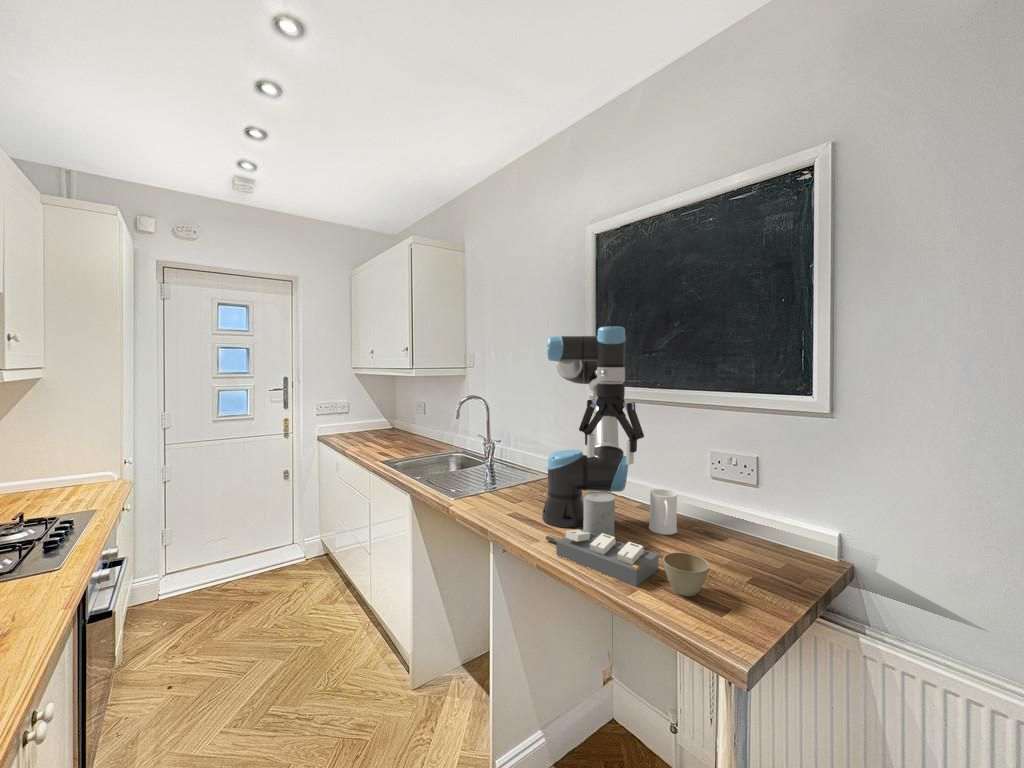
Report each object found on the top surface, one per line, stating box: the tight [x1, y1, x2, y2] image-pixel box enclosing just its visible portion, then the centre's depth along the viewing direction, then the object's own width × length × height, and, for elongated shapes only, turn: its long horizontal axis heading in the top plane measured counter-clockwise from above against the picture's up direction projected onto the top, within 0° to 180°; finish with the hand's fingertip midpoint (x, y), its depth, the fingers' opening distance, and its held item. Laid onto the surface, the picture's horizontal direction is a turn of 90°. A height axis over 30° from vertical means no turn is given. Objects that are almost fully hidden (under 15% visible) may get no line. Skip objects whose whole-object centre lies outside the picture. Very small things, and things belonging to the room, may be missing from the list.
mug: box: [648, 488, 678, 536], centre depth 138 cm, size 12×8×12 cm
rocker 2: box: [590, 533, 617, 555], centre depth 116 cm, size 4×6×2 cm, turn 137°
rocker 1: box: [564, 529, 590, 542], centre depth 121 cm, size 4×6×2 cm, turn 137°
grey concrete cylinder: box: [582, 491, 616, 538], centre depth 134 cm, size 10×10×12 cm
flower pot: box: [662, 551, 710, 597], centre depth 102 cm, size 10×10×7 cm
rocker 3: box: [617, 541, 645, 565], centre depth 110 cm, size 4×6×2 cm, turn 137°
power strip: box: [545, 529, 660, 588], centre depth 120 cm, size 33×12×4 cm, turn 47°
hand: (609, 460), depth 122 cm, fingers open, 12 cm apart
